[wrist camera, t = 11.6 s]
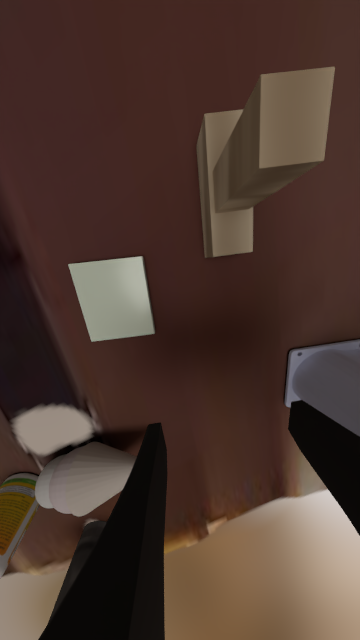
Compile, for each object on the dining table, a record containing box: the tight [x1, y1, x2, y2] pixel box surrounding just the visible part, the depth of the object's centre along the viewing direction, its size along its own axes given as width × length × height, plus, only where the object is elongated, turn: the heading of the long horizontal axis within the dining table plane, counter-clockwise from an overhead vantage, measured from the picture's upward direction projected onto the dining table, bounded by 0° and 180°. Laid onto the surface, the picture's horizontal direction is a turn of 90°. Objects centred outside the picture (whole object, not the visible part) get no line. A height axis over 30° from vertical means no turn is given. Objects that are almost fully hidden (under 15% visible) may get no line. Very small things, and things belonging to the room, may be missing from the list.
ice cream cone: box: [35, 442, 137, 516], centre depth 19 cm, size 6×6×15 cm
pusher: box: [196, 67, 335, 258], centre depth 10 cm, size 3×8×9 cm, turn 7°
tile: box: [68, 256, 155, 342], centre depth 16 cm, size 2×7×6 cm
